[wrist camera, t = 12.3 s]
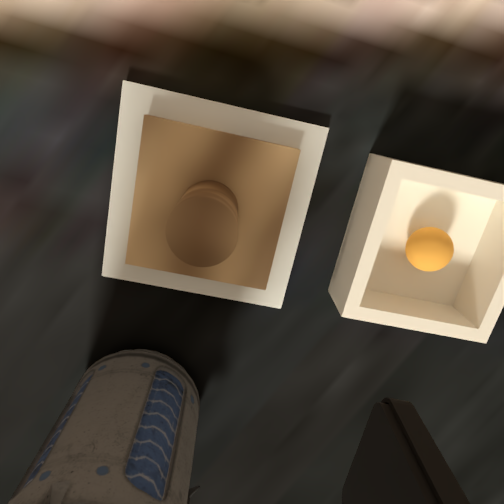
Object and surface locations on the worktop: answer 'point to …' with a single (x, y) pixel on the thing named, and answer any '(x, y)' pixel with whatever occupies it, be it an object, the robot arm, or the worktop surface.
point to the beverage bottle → (120, 437)
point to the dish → (398, 266)
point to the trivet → (222, 119)
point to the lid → (208, 202)
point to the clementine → (429, 249)
